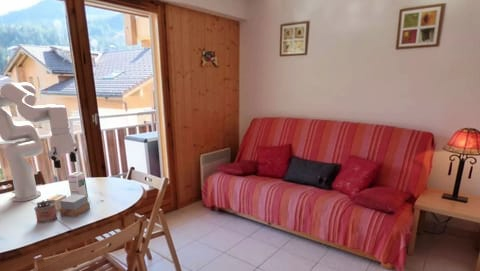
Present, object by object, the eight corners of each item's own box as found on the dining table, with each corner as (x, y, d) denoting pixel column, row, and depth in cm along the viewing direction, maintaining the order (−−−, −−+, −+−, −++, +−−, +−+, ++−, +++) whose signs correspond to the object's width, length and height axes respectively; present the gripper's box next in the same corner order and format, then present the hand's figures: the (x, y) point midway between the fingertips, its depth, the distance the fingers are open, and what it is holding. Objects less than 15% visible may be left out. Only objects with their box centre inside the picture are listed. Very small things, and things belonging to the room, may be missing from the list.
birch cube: (48, 210, 143) (46, 199, 141) (58, 204, 148) (56, 194, 147) (57, 211, 141) (56, 200, 140) (67, 205, 147) (66, 195, 145)
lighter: (36, 224, 129) (32, 204, 126) (38, 221, 132) (34, 201, 130) (56, 220, 132) (53, 200, 130) (58, 217, 135) (54, 197, 133)
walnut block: (60, 216, 136) (59, 208, 136) (75, 207, 145) (74, 200, 144) (76, 218, 134) (75, 210, 133) (90, 209, 143) (89, 202, 142)
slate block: (61, 208, 136) (60, 200, 135) (74, 201, 143) (73, 194, 143) (75, 210, 134) (73, 202, 133) (87, 202, 141) (86, 195, 140)
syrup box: (80, 200, 152) (76, 175, 149) (71, 200, 153) (67, 175, 150) (88, 196, 158) (84, 171, 154) (79, 195, 159) (75, 171, 156)
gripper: (68, 127, 146) (73, 159, 150) (38, 134, 130) (44, 169, 133) (80, 128, 144) (85, 159, 148) (51, 135, 128) (57, 170, 132)
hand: (66, 164), depth 141 cm, fingers open, 9 cm apart
